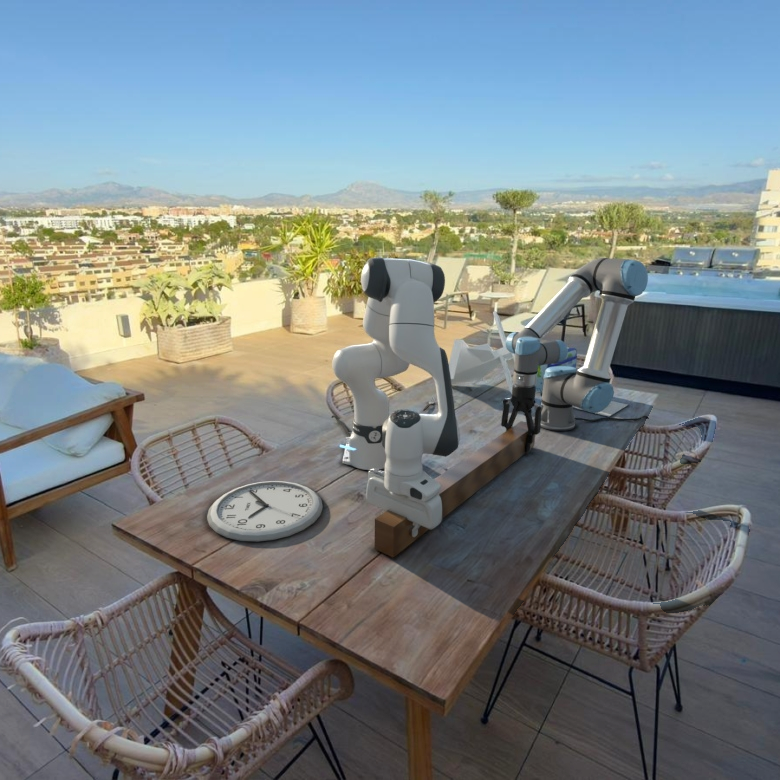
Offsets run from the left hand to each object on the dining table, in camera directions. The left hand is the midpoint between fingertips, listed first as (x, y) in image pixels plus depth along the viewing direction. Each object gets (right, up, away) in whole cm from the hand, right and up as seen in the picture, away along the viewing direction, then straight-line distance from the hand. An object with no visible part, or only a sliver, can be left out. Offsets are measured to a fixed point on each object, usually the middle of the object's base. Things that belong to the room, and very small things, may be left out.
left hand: (401, 530), depth 126 cm
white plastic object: (+39, +33, +117) cm, 127 cm away
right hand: (+41, +14, +53) cm, 68 cm away
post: (+21, +5, +27) cm, 34 cm away
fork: (+14, +27, +97) cm, 101 cm away
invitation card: (+89, +27, +100) cm, 136 cm away
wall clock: (-36, +2, +14) cm, 38 cm away
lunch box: (+74, +33, +121) cm, 145 cm away
